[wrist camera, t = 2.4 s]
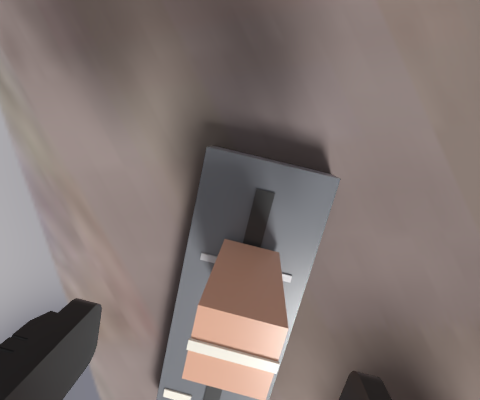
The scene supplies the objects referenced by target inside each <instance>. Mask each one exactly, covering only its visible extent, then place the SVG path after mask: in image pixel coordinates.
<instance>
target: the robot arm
mask: <svg viewBox="0 0 480 400" xmlns="http://www.w3.org/2000/svg"><path fill="white" fill-rule="evenodd" d="M101 311H102V307H101V305H100V304H97V303H93V302H89V301H86V300H82V299H78V298H76V299H74V300H72V301H71V302H70V303H69V304H68V305H66V306H65V307H64V308H63V309H62V310H61V311H60V312H58V313H56V312H53V311H50V312H48V313H46V314H43V315H41V316H39V317H37V318H35V319H32V320H30V321H29V322H28V323H26V324H25V325H24V326H23V327H21V328H20V329H19V330H18V331H16V332H15V333H14V334H13V335H12V337H11V338H10V337H9V338H8V339H6V340H5V341H4V342H3V343H2V344H0V400H63V398H64V397H65V396H66V394H67V393H68V391H69V390H70V389H71V388H72V386H73V385H74V384H75V382H76V381H77V380H78V378H79V377H80V375H81V374H82V373H83V372H84V370H85V369H86V367H87V366H88V364H89V363H90V361H91V359H92V357H93V355H94V352H95V349H96V346H97V340H98V333H99V325H100V318H101ZM339 400H392V399H391V397H390V395H389V393H388V391H387V389H386V387H385V385H384V383H383V382H382V380H381V379H380V378H378V377H375V376H372V375H368V374H364V373H360V372H356V371H352V372H351V373H350V375H349V377H348V379H347V381H346V384H345V386H344V389H343V391H342V393H341V396H340V398H339Z"/></svg>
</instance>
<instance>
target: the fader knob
mask: <svg viewBox="0 0 480 400" xmlns="http://www.w3.org/2000/svg"><path fill="white" fill-rule="evenodd" d="M288 329H289V328H288V320H287V312H286V304H285V296H284V287H283V279H282V271H281V263H280V255H279V252H275V251H271V250H267V249H263V248H259V247H255V246H251V245H247V244H243V243H240V242H236V241H232V240H228V239H224V242H223V244H222V247H221V249H220V252H219V254H218V257H217V259H216V262H215V264H214V267H213V269H212V272H211V274H210V276H209V279H208V281H207V284H206V286H205V289H204V291H203V294H202V296H201V299H200V301H199V304H198V307H197V312H196V316H195V321H194V325H193V330H192V334H191V338H189V340H188V344H187V349H186V350H188V352H187V357H186V362H185V366H184V371H183V375H182V379H186V380H189V381H193V382H197V383H200V384H204V385H208V386H211V387H215V388H219V389H222V390H226V391H230V392H233V393H237V394H241V395H244V396H248V397H252V398H255V399H259V400H266V398H267V394H268V391H269V388H270V385H271V382H272V379H273V376H274V374H277V371H278V368H279V365H280V362H278V360H279V357H280V354H281V351H282V348H283V344H284V341H285V338H286V335H287V332H288Z"/></svg>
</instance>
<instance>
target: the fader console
mask: <svg viewBox="0 0 480 400" xmlns="http://www.w3.org/2000/svg"><path fill="white" fill-rule="evenodd" d="M339 182H340V178H338V177H336V176H334V175H332V174H329V173H325V172H321V171H317V170H313V169H309V168H305V167H300V166H296V165H292V164H288V163H284V162H280V161H276V160H271V159H267V158H263V157H259V156H255V155H251V154H247V153H242V152H238V151H234V150H230V149H226V148H222V147H218V146H208V147H207V148H206V153H205V158H204V163H203V168H202V173H201V178H200V183H199V188H198V193H197V198H196V203H195V208H194V213H193V218H192V223H191V228H190V233H189V238H188V243H187V248H186V253H185V259H184V264H183V269H182V274H181V279H180V284H179V289H178V294H177V299H176V304H175V309H174V314H173V319H172V324H171V329H170V334H169V339H168V344H167V349H166V354H165V359H164V364H163V369H162V374H161V379H160V384H159V389H158V394H157V399H156V400H259V399H255V398H252V397H248V396H244V395H241V394H237V393H233V392H230V391H226V390H222V389H219V388H215V387H211V386H208V385H204V384H200V383H197V382H193V381H189V380H186V379H182V375H183V371H184V366H185V362H186V357H187V352H188V350H186V349H187V344H188V340H189V338H191V334H192V330H193V325H194V321H195V316H196V312H197V307H198V304H199V301H200V299H201V296H202V294H203V291H204V289H205V286H206V284H207V281H208V279H209V276H210V274H211V272H212V269H213V267H214V264H215V262H216V259H217V257H218V254H219V252H220V249H221V247H222V244H223V242H224V239H228V240H232V241H236V242H240V243H243V244H247V245H251V246H255V247H259V248H263V249H267V250H271V251H275V252H279V255H280V263H281V271H282V279H283V287H284V296H285V304H286V312H287V320H288V328H289V329H288V332H287V335H286V338H285V341H284V344H283V348H282V351H281V354H280V357H279V360H278V362H280V364H281V361H282V358H283V355H284V352H285V349H286V346H287V343H288V340H289V337H290V333H291V330H292V327H293V324H294V321H295V318H296V315H297V312H298V309H299V306H300V303H301V299H302V296H303V293H304V290H305V287H306V284H307V281H308V278H309V275H310V272H311V269H312V265H313V262H314V259H315V256H316V253H317V250H318V247H319V244H320V241H321V238H322V235H323V231H324V228H325V225H326V222H327V219H328V216H329V213H330V210H331V207H332V204H333V201H334V197H335V194H336V191H337V188H338V185H339ZM279 367H280V365H279ZM278 370H279V368H278ZM277 374H278V371H277ZM277 374H274V376H273V379H272V382H271V385H270V388H269V391H268V394H267V398H266V400H269V398H270V395H271V392H272V389H273V386H274V383H275V380H276V377H277Z"/></svg>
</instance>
